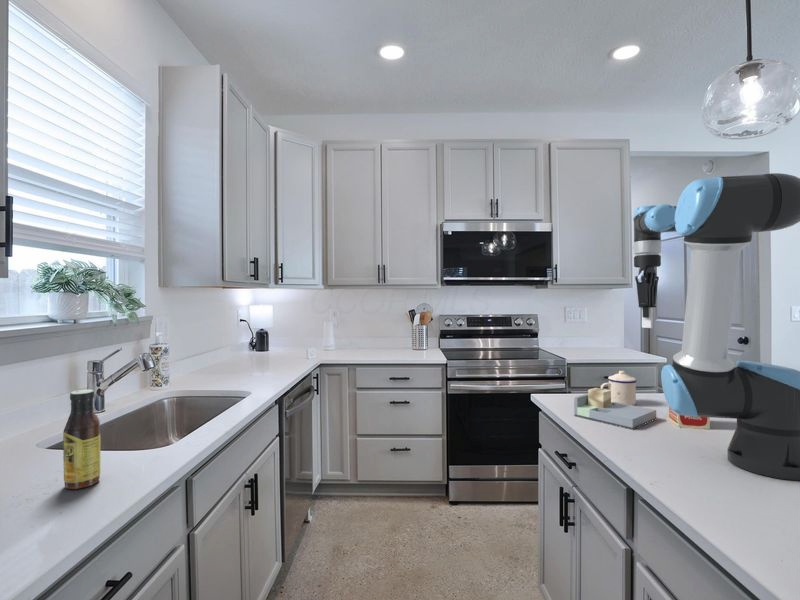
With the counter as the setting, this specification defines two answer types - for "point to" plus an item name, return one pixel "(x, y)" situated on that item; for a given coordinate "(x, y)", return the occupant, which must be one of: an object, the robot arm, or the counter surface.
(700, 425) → the milk carton
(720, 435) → the counter surface
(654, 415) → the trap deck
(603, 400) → the maple block
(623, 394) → the teacup with lid
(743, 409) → the robot arm
